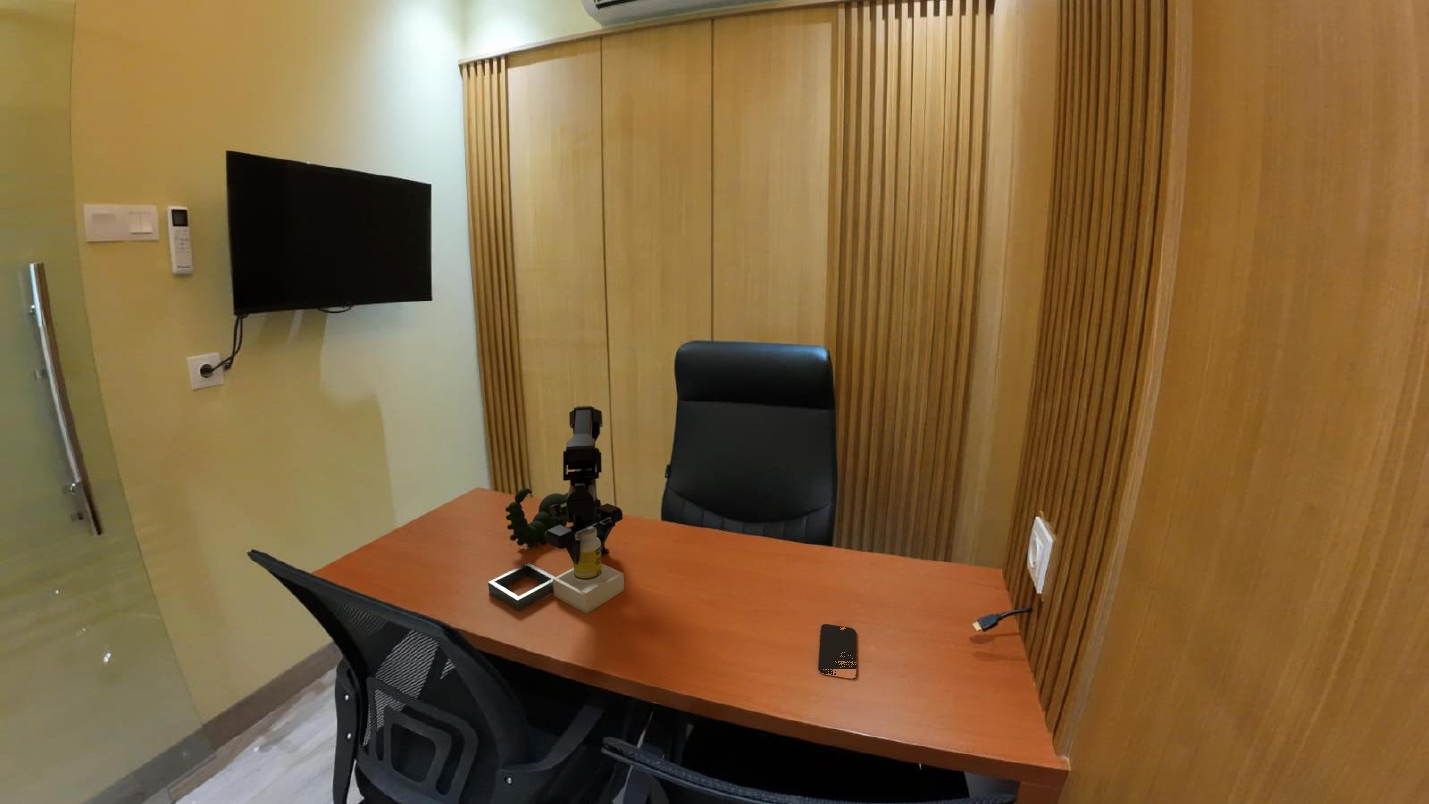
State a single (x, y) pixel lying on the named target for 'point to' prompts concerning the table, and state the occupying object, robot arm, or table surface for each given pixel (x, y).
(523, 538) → the toy figurine
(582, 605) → the bin
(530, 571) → the collar
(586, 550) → the pill bottle
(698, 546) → the table surface
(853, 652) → the phone
